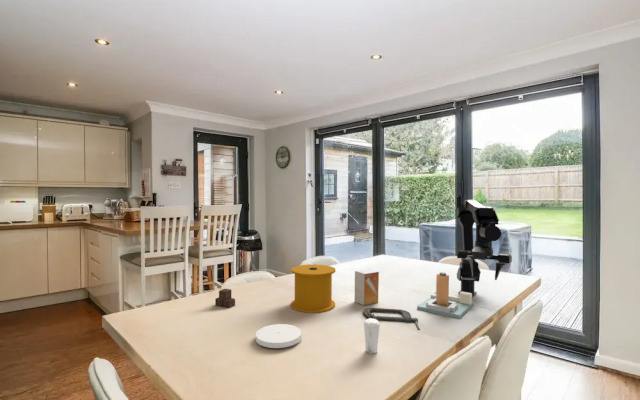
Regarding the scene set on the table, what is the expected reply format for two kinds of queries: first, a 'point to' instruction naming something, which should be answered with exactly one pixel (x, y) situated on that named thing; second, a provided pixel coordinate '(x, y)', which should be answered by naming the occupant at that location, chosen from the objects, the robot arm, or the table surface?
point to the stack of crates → (225, 299)
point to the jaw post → (442, 289)
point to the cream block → (462, 298)
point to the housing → (452, 310)
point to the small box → (366, 286)
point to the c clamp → (405, 315)
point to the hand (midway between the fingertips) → (483, 278)
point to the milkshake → (371, 335)
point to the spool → (313, 288)
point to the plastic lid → (278, 336)
